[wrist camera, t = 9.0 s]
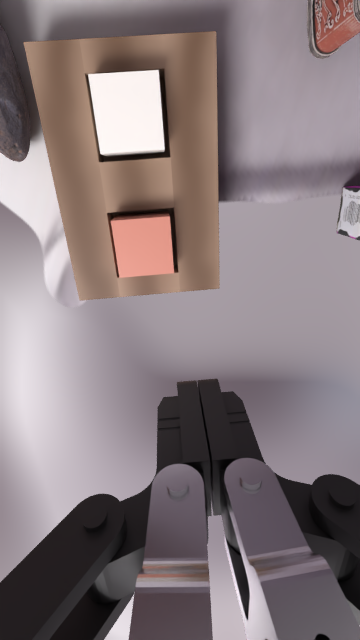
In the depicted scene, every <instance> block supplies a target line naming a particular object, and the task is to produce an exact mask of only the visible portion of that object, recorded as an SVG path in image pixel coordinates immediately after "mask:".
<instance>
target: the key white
mask: <svg viewBox="0 0 360 640" xmlns="http://www.w3.org/2000/svg"><path fill="white" fill-rule="evenodd" d="M88 77H89V83H90V90H91V96H92V103H93V109H94V116H95V122H96V129H97V135H98V142H99V148H100V154H102V155H104V156H107V157H110V156H125V155H139V154H153V153H164V150H165V147H164V134H163V121H162V108H161V94H160V81H159V70H149V71H133V72H116V73H100V74H88Z"/></svg>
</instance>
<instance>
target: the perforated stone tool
mask: <svg viewBox="0 0 360 640" xmlns="http://www.w3.org/2000/svg"><path fill="white" fill-rule="evenodd" d="M29 146H30V120H29V112H28V107H27V101H26V97H25V93H24V89H23V85H22V82H21V78H20V75H19V72H18V68H17V65H16V61H15V58H14V55H13V52H12V49H11V46H10V43H9V40H8V37H7V35H6V33H5V31H4V29H3V28H2V26H1V25H0V152H1V153H2V154H4V155H5V156H6V157H7V158H9V159H11V160H13V161H17V162H20V161H23V160H24V159H25V158H26V156H27V154H28V151H29Z"/></svg>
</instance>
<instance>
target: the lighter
mask: <svg viewBox="0 0 360 640" xmlns="http://www.w3.org/2000/svg"><path fill="white" fill-rule="evenodd" d="M307 32H308V46H309V50H310V53H311V54H312V55H313V56H314V57H315V58H318V59H324V58H327V57H329V56H330V55H332V54H333V53H335V52H336V51H337V50H338V49H339V48H340V47H341V45H342V44H344V43H345V42H347V41H348V40H349V39H351V38H352V37H354V36H355V35H357V34H358V33H359V32H360V0H307Z"/></svg>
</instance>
